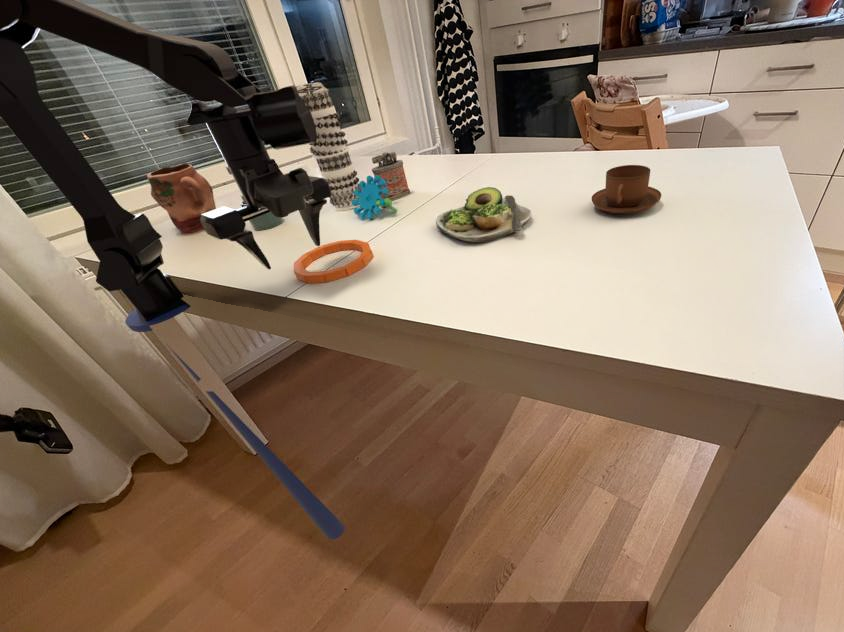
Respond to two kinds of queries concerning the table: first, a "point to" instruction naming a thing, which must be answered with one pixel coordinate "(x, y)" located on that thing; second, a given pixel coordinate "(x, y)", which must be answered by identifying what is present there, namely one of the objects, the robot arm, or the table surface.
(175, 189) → the decorative planter
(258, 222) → the cup
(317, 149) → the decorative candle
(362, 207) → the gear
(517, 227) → the avocado toast plate
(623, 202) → the cup and saucer
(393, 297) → the table surface
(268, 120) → the robot arm
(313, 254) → the ring
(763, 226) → the table surface
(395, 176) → the lighter
